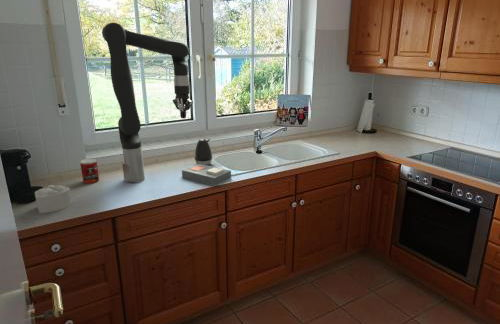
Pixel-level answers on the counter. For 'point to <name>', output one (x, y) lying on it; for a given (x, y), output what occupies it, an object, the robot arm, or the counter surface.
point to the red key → (197, 168)
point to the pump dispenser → (203, 152)
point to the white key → (215, 171)
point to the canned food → (89, 171)
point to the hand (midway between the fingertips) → (183, 118)
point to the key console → (206, 175)
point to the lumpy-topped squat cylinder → (53, 198)
